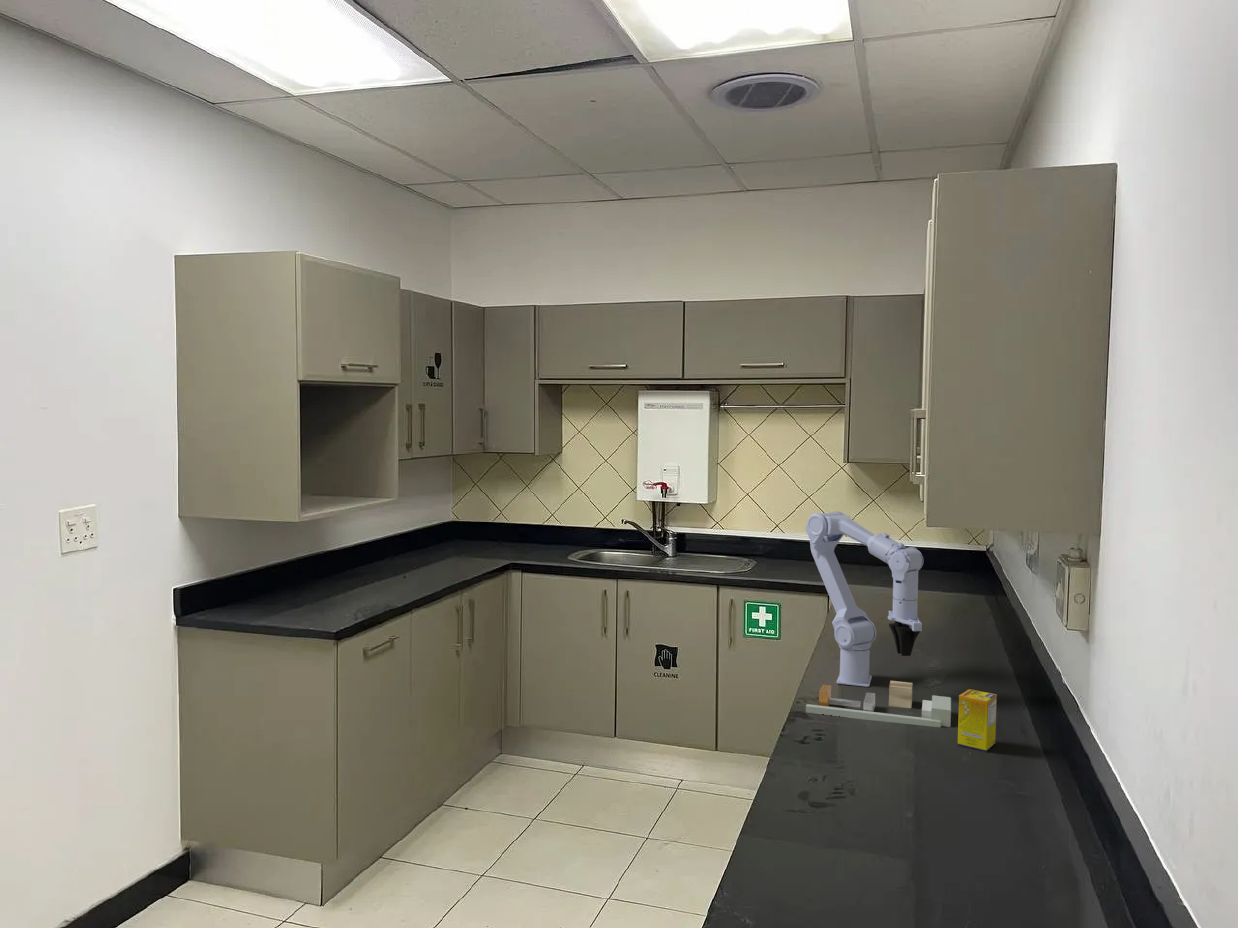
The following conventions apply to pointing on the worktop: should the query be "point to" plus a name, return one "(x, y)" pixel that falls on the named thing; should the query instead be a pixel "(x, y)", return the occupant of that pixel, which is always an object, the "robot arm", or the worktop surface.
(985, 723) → the supplement box
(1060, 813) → the worktop surface
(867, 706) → the vise jaw
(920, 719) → the vise
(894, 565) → the robot arm
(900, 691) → the maple block
